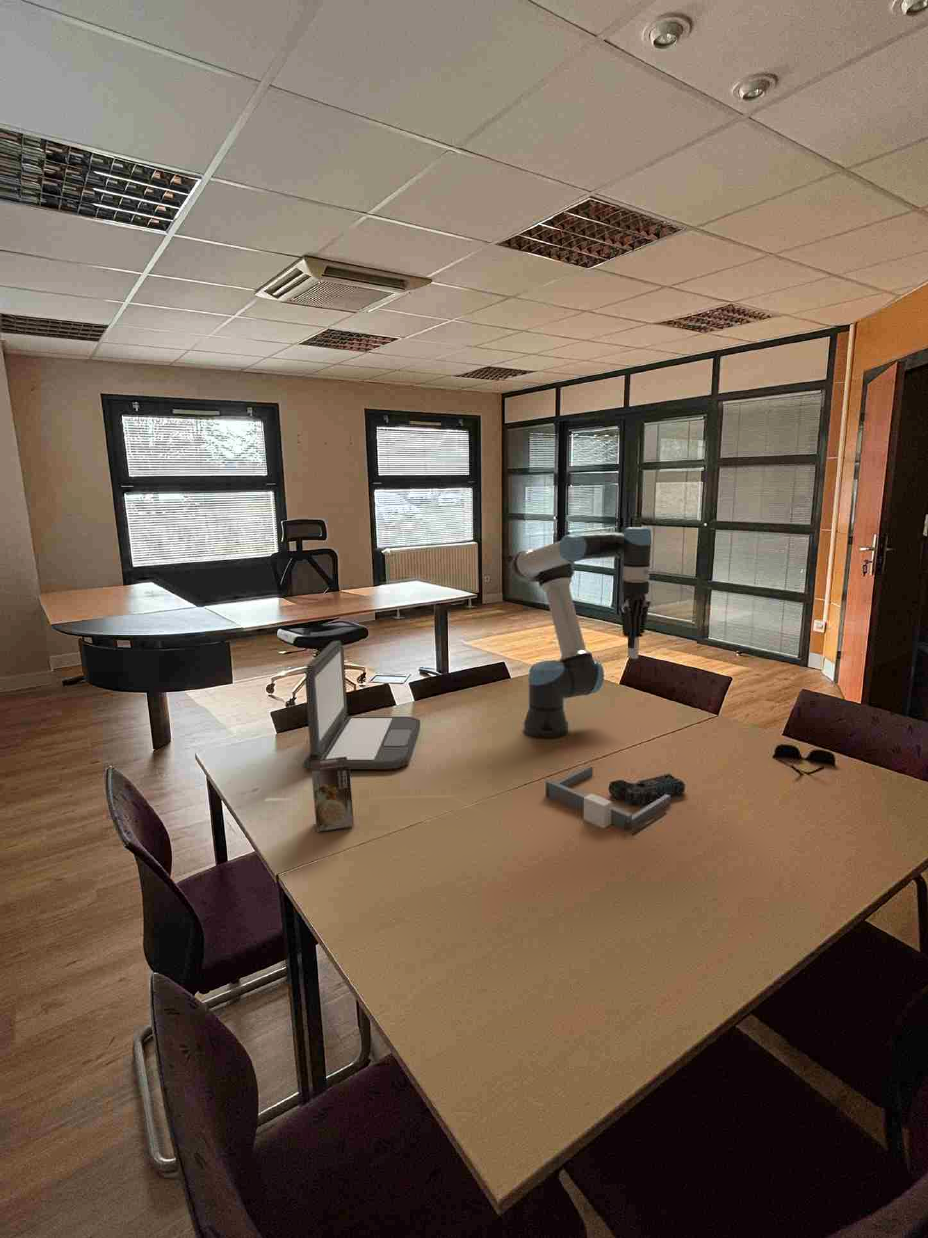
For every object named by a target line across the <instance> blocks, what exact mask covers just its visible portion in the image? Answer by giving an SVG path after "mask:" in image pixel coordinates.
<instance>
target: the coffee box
mask: <svg viewBox="0 0 928 1238" xmlns="http://www.w3.org/2000/svg"><path fill="white" fill-rule="evenodd" d="M350 770H351V769H349V763H348V760H347V757H339V758H331V759H324V760H316V761H311V769H310V771H311V779H312V791H313V801H314V802H313V804H314V805H313V806H314V815H315V824H316V831H317V832H325V831H331V830H335V829H342V828H343V829H344V828H350V827H354V826H355V823H354V822H355V819H354V809H353V796H352V795H353V794H352V784H351V783H352V782H351V771H350Z"/></svg>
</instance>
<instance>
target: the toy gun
mask: <svg viewBox="0 0 928 1238" xmlns="http://www.w3.org/2000/svg"><path fill="white" fill-rule="evenodd" d="M607 789H608V791H609V794H610V795H611V796H613V797H615V798H616V799H618V800H620V801H621V802H622V801H623V802H626V804H627V805H628V806H633V807H641V806H644V805H645V804H646V805H647V804H649V803H650V804H651V803H653V802H654V801H656V800H657V799H659V798H661V797H662V796H664V795H665V794H667V795H670V798H671V797H675V796H679V795H682V794H685V789H686V783H685V782H684V781H683V780H682V779H680V778H676V777H675V776H674V775H673V774H671V773H666V774H663V775H659V776H658V775H657V776H655V777H650V778H647V779H646V778H645V779H642V780H638V781H637V782H635V783H633V782H627V781H625V780H624V779H620V780H619V779H618V780H613V781H609V785H608V788H607Z"/></svg>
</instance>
